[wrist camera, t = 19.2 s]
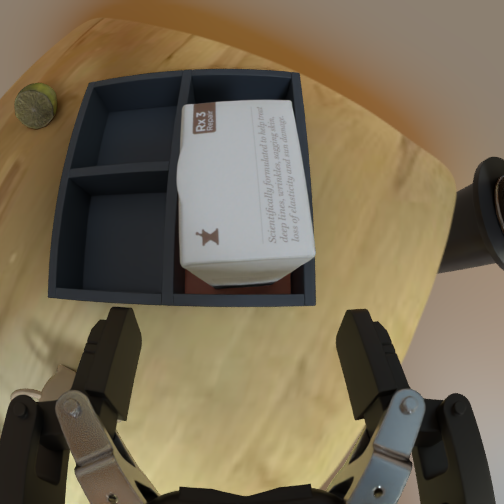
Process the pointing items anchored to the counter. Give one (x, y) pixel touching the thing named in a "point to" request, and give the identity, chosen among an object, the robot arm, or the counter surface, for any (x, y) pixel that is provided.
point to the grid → (152, 192)
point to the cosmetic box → (242, 193)
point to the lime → (36, 105)
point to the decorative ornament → (52, 386)
